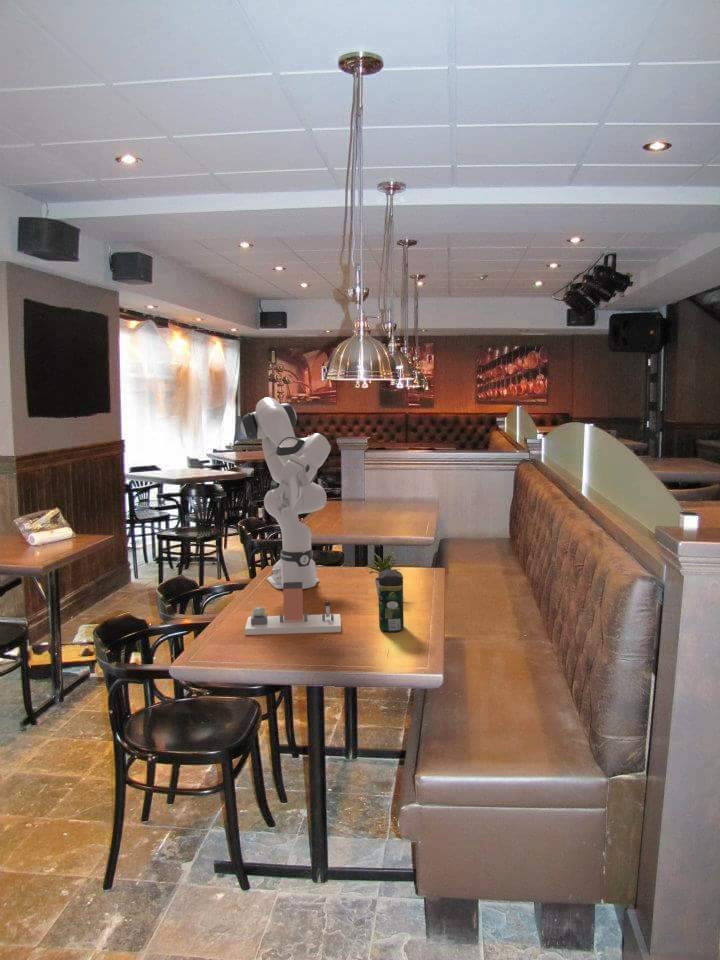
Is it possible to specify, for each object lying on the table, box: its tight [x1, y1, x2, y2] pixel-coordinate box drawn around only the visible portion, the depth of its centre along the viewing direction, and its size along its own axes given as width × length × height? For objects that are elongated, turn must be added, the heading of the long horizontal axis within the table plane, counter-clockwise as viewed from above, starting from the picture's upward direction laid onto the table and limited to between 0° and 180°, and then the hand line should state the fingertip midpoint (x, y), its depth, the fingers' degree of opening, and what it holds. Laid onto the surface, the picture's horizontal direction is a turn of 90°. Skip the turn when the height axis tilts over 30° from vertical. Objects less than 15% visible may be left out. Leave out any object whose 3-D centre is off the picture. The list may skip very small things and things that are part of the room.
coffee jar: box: [377, 568, 405, 633], centre depth 231 cm, size 10×8×19 cm
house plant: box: [364, 551, 402, 595], centre depth 269 cm, size 14×14×16 cm
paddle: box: [282, 582, 304, 620], centre depth 233 cm, size 2×6×12 cm, turn 94°
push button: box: [252, 606, 266, 616], centre depth 233 cm, size 4×4×2 cm
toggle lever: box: [324, 600, 331, 617], centre depth 235 cm, size 2×2×5 cm
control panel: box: [244, 612, 342, 636], centre depth 234 cm, size 12×30×4 cm, turn 93°
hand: (277, 504), depth 233 cm, fingers open, 8 cm apart
